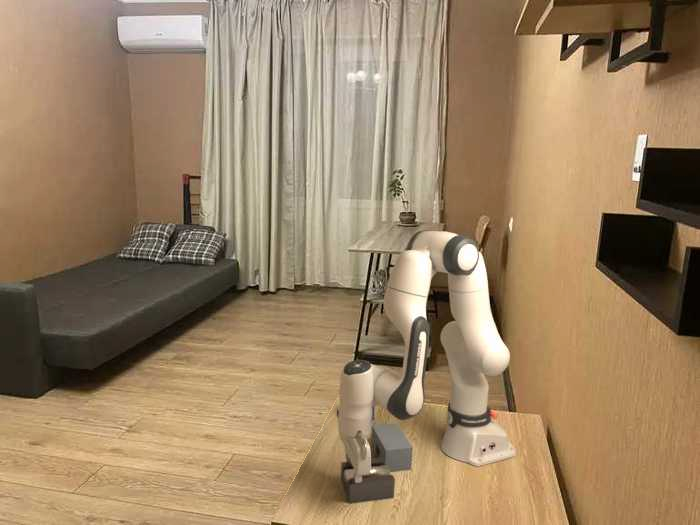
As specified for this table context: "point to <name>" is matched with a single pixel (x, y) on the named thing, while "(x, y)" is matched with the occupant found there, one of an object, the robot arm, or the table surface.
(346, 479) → the axle
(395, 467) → the grey block
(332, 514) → the table surface
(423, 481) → the table surface
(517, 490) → the table surface
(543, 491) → the table surface
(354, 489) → the v block
